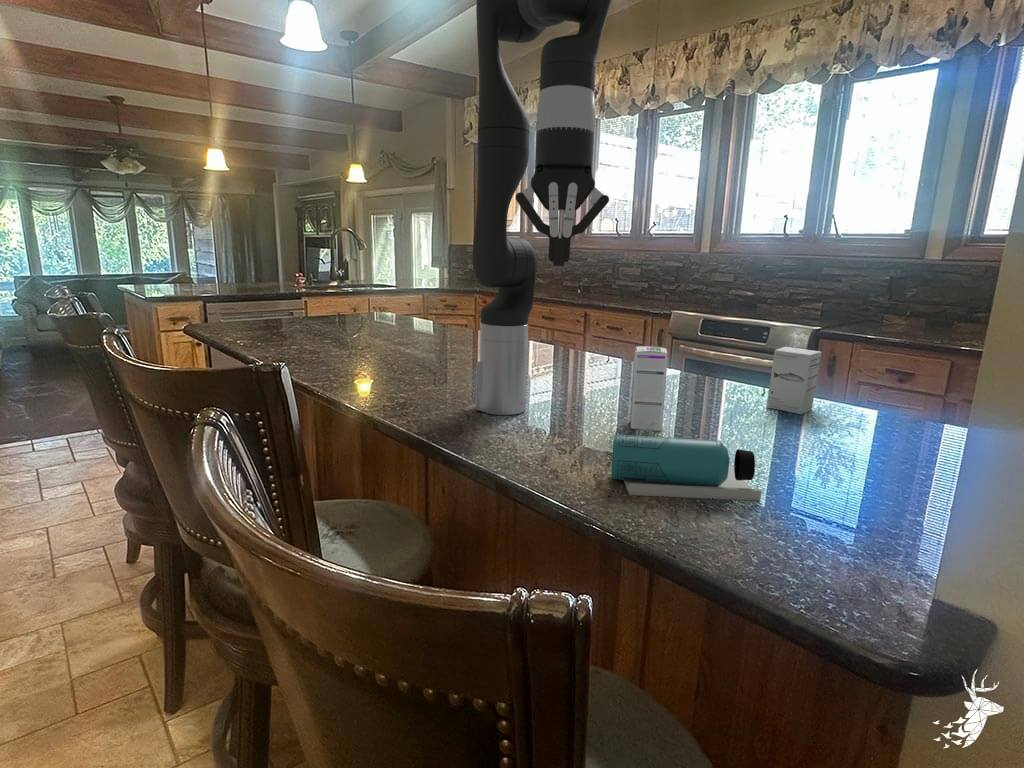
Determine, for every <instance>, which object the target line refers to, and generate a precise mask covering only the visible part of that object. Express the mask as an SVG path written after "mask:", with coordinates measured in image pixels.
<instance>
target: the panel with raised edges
mask: <svg viewBox="0 0 1024 768" xmlns="http://www.w3.org/2000/svg"><path fill="white" fill-rule="evenodd" d="M730 459H731V457H730V456H729V462H730V461H731V460H730ZM623 481H624V485H625V487H626V490H627V492H628V495H629V496H640V497H642V496H644V497H645V496H646V497H647V496H648V497H663V496H664V497H666V496H667V497H666V498H687V499H707V500H709V498H710V499H712V498H713V499H714V500H729V501H730V500H732V499H733V501H734V499H735V501H753V500H755V502H757V501H758V502H759V501H761V497H762V489H760V488H752V487H751V486H750V485H749V483H747V482H746V481H747V480H736V479H735V473H734V466H732V465H731V464H730V463H729V470H728V476H727V479H726V480H725V481H724V482H723V483H722V484H721V485H720V486H718V487H714V486H705V485H691V484H674V485H673V484H672V483H659V482H655V483H654V482H652V483H651V482H646V481H632V480H623ZM630 481H631V482H630ZM643 482H645V483H643ZM656 483H657V484H656ZM713 499H712V500H713ZM756 500H757V501H756Z"/></svg>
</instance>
